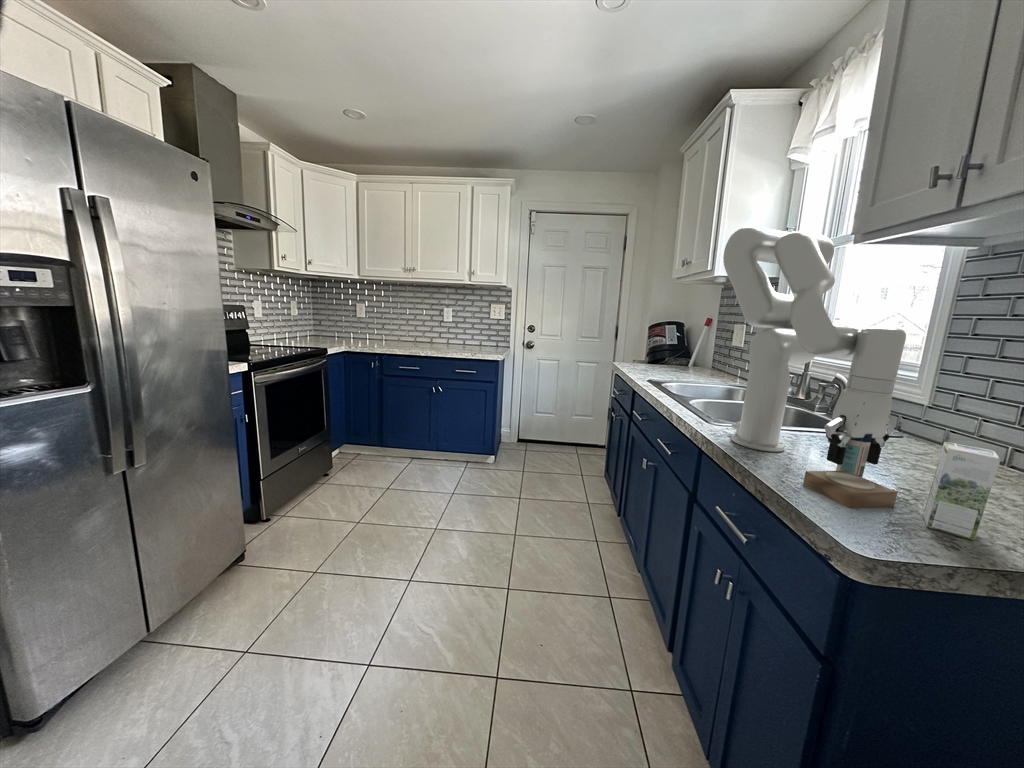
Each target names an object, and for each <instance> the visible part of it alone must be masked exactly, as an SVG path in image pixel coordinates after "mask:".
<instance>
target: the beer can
mask: <svg viewBox="0 0 1024 768" xmlns="http://www.w3.org/2000/svg"><path fill="white" fill-rule="evenodd" d="M845 433H847V432H845ZM872 436H873V433H866V434H865V436H864V437H863V438H850V440H849V441H848V442H847V443H846V444H845V445H844V446H843V447H846V451H845V455H844V460H843V464H842V465H838V464H836V469H835V471H848V472H850V473H852V474H855V475H857V476H860V477H862V478H864V477H863V475H864V471H865V468H866V464H867V462H866V460H867V456H868V452H869V448H870V444H871V440H872Z"/></svg>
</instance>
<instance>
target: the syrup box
mask: <svg viewBox="0 0 1024 768" xmlns="http://www.w3.org/2000/svg"><path fill="white" fill-rule="evenodd" d="M1000 463H1001V459H1000V457H999V456H998V454H997V453H996V452H995V451H994V450H992V449H987V448H981V447H976V446H972V445H971V446H970V445H964V444H959V443H954V442H948V441H944V442H943V444H942V448H941V452H940V456H939V459H938V462H937V467H936V470H935V472H934V476H933V479H932V483H931V487H930V490H929V494H928V498H927V500H926V503H925V504H926V505H925V508H924V512H923V519H924V522H925V526H926V528H929V529H933V530H935V531H940V532H943V533H946V534H949V535H953V536H955V537H956V536H957V537H960V538H964V539H967V540H971V541H975V540H976V537H977V534H978V531H979V528H980V526H981V522H982V519H983V516H984V513H985V508H986V506H987V503H988V499H989V497H990V493H991V491H992V487H993V484H994V482H995V481H994V480H995V478H996V475H997V472H998V470H999V466H1000Z"/></svg>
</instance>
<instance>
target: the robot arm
mask: <svg viewBox="0 0 1024 768" xmlns="http://www.w3.org/2000/svg"><path fill="white" fill-rule="evenodd" d="M834 254H835V245H834V243H833V241H832V240H831V239H830V238H829V237H827V236H825V235H823V234H818V233H814V232H809V231H805V230H801V231H799V230H796V231H790V232H789V231H788V232H787V231H782V230H777V229H772V228H771V229H770V228H767V227H761V226H746V227H745V226H744V227H742V228H739V229H738V230H735V231H734V232H733V233H732V234H731V236H729V238H728V240H727V242H726V244H725V247H724V250H723V256H722V257H723V265H724V270H725V272H726V275H727V277H728V280H729V281H730V283H731V285H732V287H733V291H734V293H735V296H736V299H737V303H738V304H739V307H740V310H741V313H742V316H743V318H744V320H745V322H746V323H747V325H749V326H751V327H754V328H761V330H759V331H758V332H756V333H755V334H754V335H753V337H752V338H751V341H750V342H749V347H748V349H749V350H748V351H749V352H748V356H749V366H748V367H749V368H748V376H747V382H746V388H745V394H744V400H743V404H742V411H741V416H740V417H741V418H740V420H739V421H736V422H735V423H734V422H733V423H731V428H733V429H735V431H736V432H735V433H732V434H731V436H730V439H731V441H732V442H733V443H735V444H737V445H739V446H742V447H745V448H749V449H753V450H756V451H764V452H772V453H773V452H777V453H778V452H783V451H784V450H785V449H786V445H785V444H784V443H783V442H782V441H780V436H781V431H782V427H783V426H782V425H783V420H784V417H785V411H786V407H787V406H786V405H787V400H788V396H789V390H790V386H791V385H790V384H791V374H790V369H789V365H792V366H793V365H794V366H797V365H804V364H808V363H809V362H811V361H813V360H814V359H815V358H816V357H821V358H824V357H825V358H840V359H842V358H843V359H850V358H851V359H852V360H851V363H850V367H849V373H848V377H847V381H846V386H845V389H842V391H841V393H840V395H839V397H838V399H837V402H836V405H835V408H834V409H833V413H832V417H831V421H829V422H828V423H826V424H825V425H824V431H825V437H826V439H827V442H828V444H829V446H828V450H827V454H826V460H827V461H828V462H830V463H833V464H835V465H837V464H838V465H842V464H843V460H844V455H845V451H846V447H843V446H844V445H845V444H846V443H847V442H848V441H849V440H850V438H863V437H864V436H865V434H866V433H873V436H872V440H871V444H870V448H869V452H868V456H867V460H866V463H868V464H871V465H878V464H879V459H880V457H881V456H880V455H881V452H882V448H884V447H885V445H886V444H885V443H886V442H887V441H889V439H890V436H891V435H892V434H893V432H894V430H895V427H894V426H893V425H892V424H891V423H890V419H891V414H892V412H891V411H892V406H893V392H894V390H895V389H894V388H895V385H896V382H897V381H896V380H897V376H898V373H899V372H898V371H899V368H900V364H901V361H902V356H903V351H904V348H905V344H906V339H907V333H906V331H905V330H903V329H901V328H897V327H896V328H895V327H882V326H861V325H855V324H845V323H834V322H832V320H831V318H830V316H829V314H828V312H827V310H826V308H825V305H824V300H823V298H824V297H823V296H824V294H825V293H827V292H828V291H829V290H831V289H832V288H833V287H834V285H835V283H836V281H835V280H836V279H835V276H834V275H833V273H832V271H831V268H830V266H829V265H828V264H830V262H831V261H832V259H833V257H834ZM758 262H762V263H763V262H764V263H767V264H768V263H770V264H776V265H778V266H779V269H780V271H781V273H782V274H783V277H784V279H785V281H786V284H787V286H788V287H789V290H790V292H791V295H790V294H785V293H779V292H777V291H775V290H774V287H773V286H772V284H771V282H770V278H769V275H768V274H767V273H766V271H765V270H764V269H763V268H762V266H761V265H760V264H759V263H758ZM845 432H847V433H845ZM840 437H841V438H840Z"/></svg>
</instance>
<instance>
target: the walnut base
mask: <svg viewBox="0 0 1024 768" xmlns="http://www.w3.org/2000/svg"><path fill="white" fill-rule="evenodd" d="M802 486H805V487H807V488H809V489H810V490H813V491H814V492H817V493H819V494H821V495H823V496H825V497H827V498H828V499H831V500H833V501H835V502H837V503H839V504H841V505H843V506H845V507H847V508H849V509H867V508H869V509H870V508H872V509H873V508H894V507H895V505H896V502H897V501H896V500H897V497H898V491H896V490H894V489H891V488H890V487H886V486H884V485H881V484H879V483H877V482H874V481H873V480H869V479H867V478H865V477H860V476H857V475H855V474H852V473H850V472H848V471H836V470H805V473H804V477H803V482H802Z"/></svg>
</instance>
